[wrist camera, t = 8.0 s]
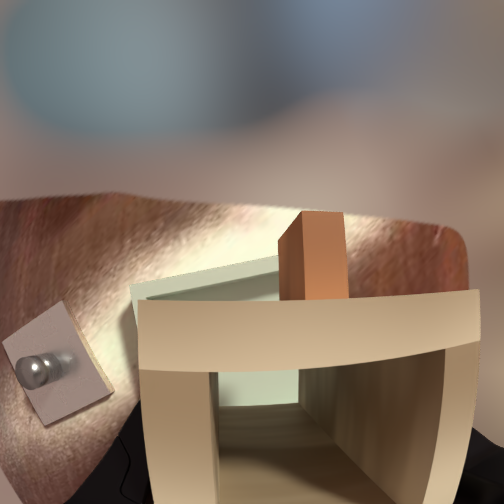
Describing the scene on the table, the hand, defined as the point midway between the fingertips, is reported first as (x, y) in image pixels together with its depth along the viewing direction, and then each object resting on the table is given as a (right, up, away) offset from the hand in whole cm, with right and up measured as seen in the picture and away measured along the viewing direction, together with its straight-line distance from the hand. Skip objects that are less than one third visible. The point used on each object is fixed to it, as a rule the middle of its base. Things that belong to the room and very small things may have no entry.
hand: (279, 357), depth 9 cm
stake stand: (-17, -6, +11) cm, 21 cm away
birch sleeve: (-1, -2, +5) cm, 6 cm away
